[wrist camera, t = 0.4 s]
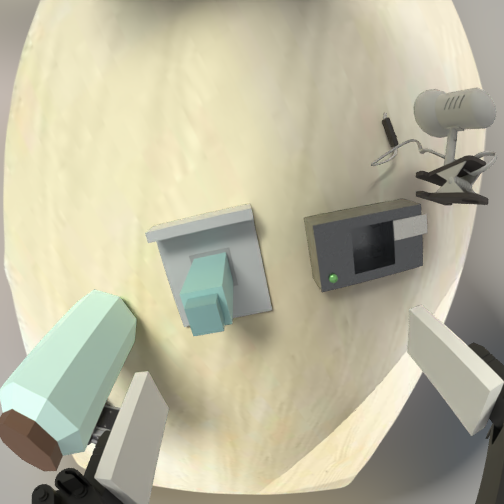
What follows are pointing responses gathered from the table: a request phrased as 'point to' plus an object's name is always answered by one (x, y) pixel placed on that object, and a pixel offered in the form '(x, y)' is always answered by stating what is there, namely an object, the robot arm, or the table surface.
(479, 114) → the clip-on lamp
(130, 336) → the water bottle
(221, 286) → the plug
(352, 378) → the table surface
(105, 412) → the camera
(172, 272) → the grey lipped plate
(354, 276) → the port
